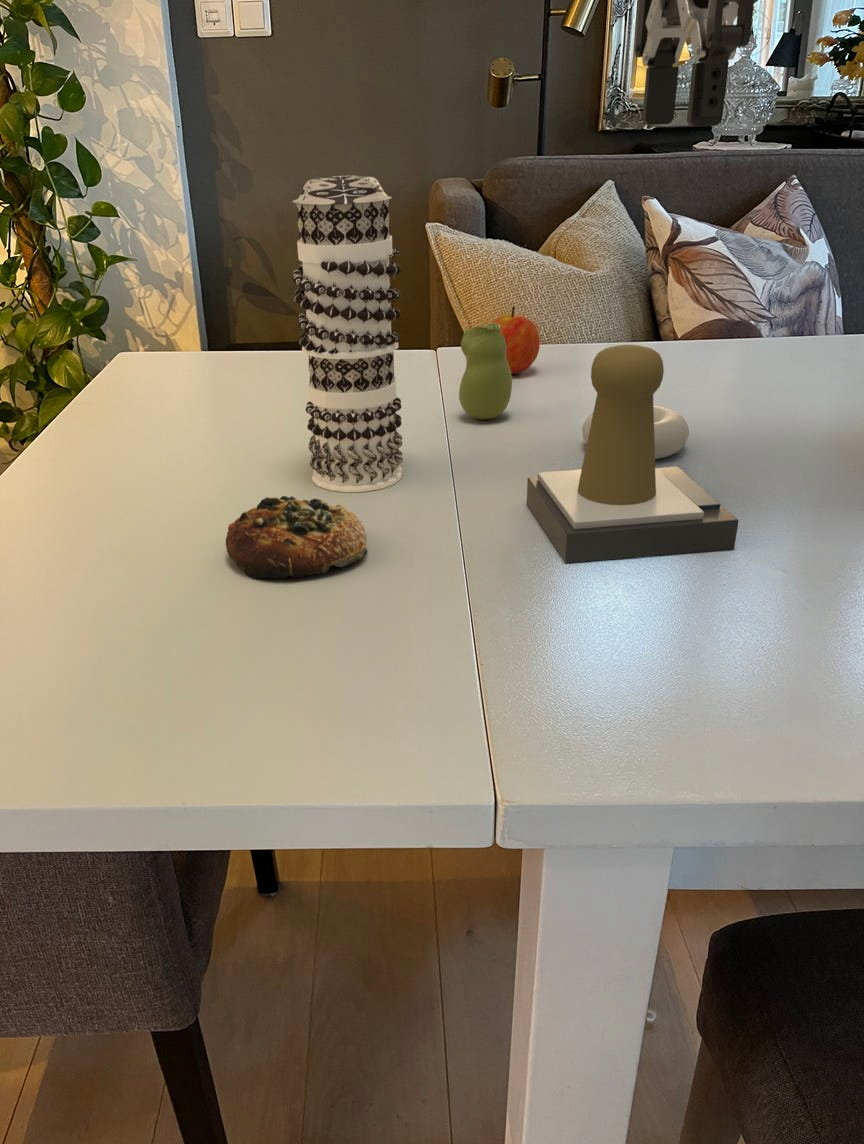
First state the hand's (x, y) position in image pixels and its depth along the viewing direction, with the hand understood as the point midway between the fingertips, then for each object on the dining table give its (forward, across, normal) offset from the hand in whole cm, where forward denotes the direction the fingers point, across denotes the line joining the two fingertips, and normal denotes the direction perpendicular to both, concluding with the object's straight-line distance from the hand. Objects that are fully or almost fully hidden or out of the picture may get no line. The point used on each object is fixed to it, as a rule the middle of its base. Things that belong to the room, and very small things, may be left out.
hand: (679, 125), depth 68 cm
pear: (+28, +24, +9) cm, 38 cm away
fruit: (+28, +42, +2) cm, 51 cm away
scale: (+28, -7, +4) cm, 29 cm away
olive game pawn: (+25, -7, +5) cm, 26 cm away
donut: (+28, +11, -3) cm, 30 cm away
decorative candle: (+28, +10, +24) cm, 38 cm away
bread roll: (+28, -6, +30) cm, 42 cm away
